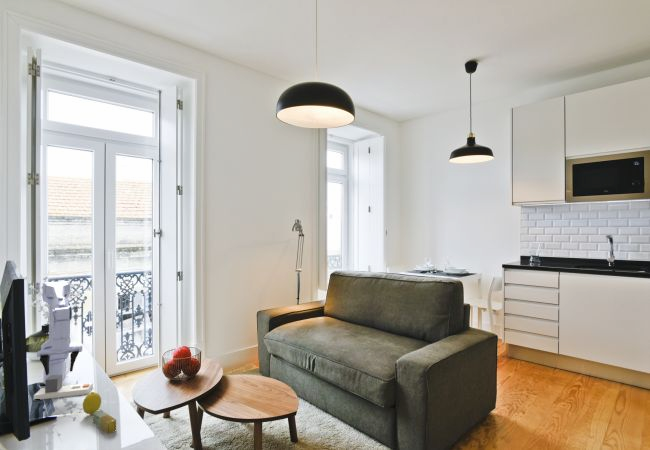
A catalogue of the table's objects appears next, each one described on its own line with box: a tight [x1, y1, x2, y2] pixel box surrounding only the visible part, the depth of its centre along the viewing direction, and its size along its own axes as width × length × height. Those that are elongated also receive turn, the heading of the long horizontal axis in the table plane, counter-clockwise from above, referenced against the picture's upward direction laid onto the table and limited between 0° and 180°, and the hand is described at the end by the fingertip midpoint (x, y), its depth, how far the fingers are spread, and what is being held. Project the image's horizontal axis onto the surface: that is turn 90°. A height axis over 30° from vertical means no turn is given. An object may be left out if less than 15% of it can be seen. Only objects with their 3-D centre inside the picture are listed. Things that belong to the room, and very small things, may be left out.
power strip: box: [33, 382, 94, 400], centre depth 144 cm, size 7×18×4 cm, turn 109°
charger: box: [44, 374, 63, 393], centre depth 143 cm, size 5×4×7 cm
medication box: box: [92, 408, 117, 435], centre depth 119 cm, size 12×3×4 cm, turn 54°
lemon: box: [82, 391, 102, 416], centre depth 127 cm, size 6×6×8 cm
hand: (59, 372), depth 142 cm, fingers open, 7 cm apart
